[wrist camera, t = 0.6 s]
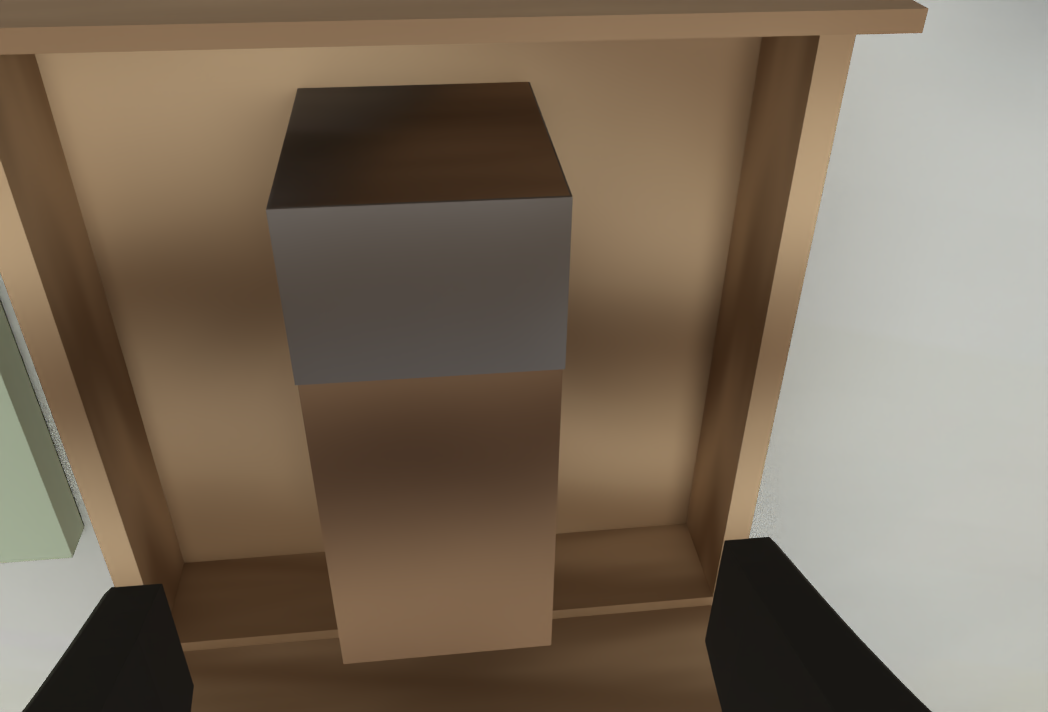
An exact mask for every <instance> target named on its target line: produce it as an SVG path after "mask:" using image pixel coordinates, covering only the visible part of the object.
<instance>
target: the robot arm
mask: <svg viewBox="0 0 1048 712" xmlns="http://www.w3.org/2000/svg"><path fill="white" fill-rule="evenodd" d="M705 643H706V648H707V652H708V656H709V661H710V665H711V669H712V673H713V678H714V682H715V686H716V690H717V694H718V698H719V702H720V705H721V709H722V712H931V711H930V710H929V709H928V708H927V707H926V706H925V705H924V704H923V703H922V702H921V701H920V700H919V699H918V698H917V697H916V696H915V695H914V694H913V693H912V692H911V691H910V690H909V689H908V688H907V687H906V686H905V685H904V684H903V683H902V682H901V681H900V680H899V679H898V678H897V677H896V676H895V675H894V674H893V673H892V672H891V671H890V670H889V669H888V668H887V666H886V665H885V664H884V663H883V662H882V661H881V660H880V659H879V658H878V657H877V656H876V655H875V654H874V653H873V652H872V651H871V650H870V649H869V648H868V647H867V646H866V644H865V643H864V642H863V641H862V640H861V639H860V638H859V637H858V636H857V635H856V634H855V633H854V632H853V630H852V629H851V628H850V627H849V626H848V625H847V624H846V623H845V622H844V621H843V620H842V618H841V617H840V616H839V615H838V614H837V613H836V612H835V611H834V609H833V608H832V607H831V606H830V605H829V604H828V603H827V602H826V601H825V599H824V598H823V597H822V596H821V595H820V594H819V593H818V591H817V590H816V589H815V588H814V587H813V586H812V585H811V583H810V582H809V581H808V580H807V579H806V578H805V577H804V575H803V574H802V573H801V572H800V571H799V570H798V568H797V567H796V566H795V565H794V564H793V563H792V561H791V560H790V559H789V558H788V557H787V556H786V554H785V553H784V552H783V551H782V550H781V549H780V548H779V546H778V545H777V544H776V543H775V542H774V541H773V540H772V539H771V538H770V537H762V538H749V539H736V540H725V541H724V546H723V551H722V556H721V561H720V566H719V571H718V576H717V581H716V586H715V592H714V597H713V602H712V607H711V612H710V617H709V622H708V627H707V632H706V637H705ZM193 689H194V684H193V681H192V678H191V675H190V672H189V668H188V665H187V662H186V659H185V655H184V652H183V649H182V646H181V643H180V639H179V636H178V633H177V630H176V626H175V623H174V620H173V617H172V614H171V610H170V607H169V604H168V601H167V597H166V594H165V591H164V588H163V584H150V585H137V586H124V587H112V588H111V589H109V590H108V591H107V592H106V593H105V594H104V596H103V597H102V599H101V600H100V602H99V603H98V605H97V606H96V607H95V609H94V610H93V612H92V613H91V615H90V616H89V618H88V619H87V621H86V622H85V624H84V625H83V627H82V628H81V630H80V631H79V633H78V634H77V636H76V637H75V638H74V640H73V641H72V643H71V644H70V646H69V647H68V649H67V650H66V651H65V653H64V654H63V656H62V657H61V659H60V660H59V661H58V663H57V664H56V666H55V667H54V669H53V670H52V671H51V673H50V674H49V676H48V677H47V678H46V680H45V681H44V683H43V684H42V685H41V687H40V688H39V690H38V691H37V692H36V694H35V695H34V697H33V698H32V699H31V701H30V702H29V703H28V705H27V706H26V707H25V709H24V710H23V711H22V712H191V706H192V698H193Z"/></svg>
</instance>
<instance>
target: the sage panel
mask: <svg viewBox="0 0 1048 712" xmlns="http://www.w3.org/2000/svg"><path fill="white" fill-rule="evenodd" d="M83 529H84V526H83V523H82V520H81V518H80V515H79V512H78V509H77V507H76V504H75V501H74V499H73V496H72V493H71V491H70V488H69V485H68V483H67V480H66V477H65V474H64V472H63V469H62V466H61V464H60V461H59V458H58V456H57V453H56V450H55V448H54V445H53V442H52V440H51V437H50V434H49V431H48V429H47V426H46V423H45V421H44V418H43V415H42V413H41V410H40V407H39V405H38V402H37V399H36V397H35V394H34V391H33V388H32V386H31V383H30V380H29V378H28V375H27V372H26V370H25V367H24V364H23V362H22V359H21V356H20V354H19V351H18V348H17V345H16V343H15V340H14V337H13V335H12V332H11V329H10V327H9V324H8V321H7V319H6V316H5V313H4V310H3V308H2V305H1V302H0V563H8V562H21V561H34V560H47V559H60V558H73V555H74V553H75V550H76V547H77V545H78V542H79V539H80V537H81V534H82V532H83Z"/></svg>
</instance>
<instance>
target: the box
mask: <svg viewBox="0 0 1048 712" xmlns="http://www.w3.org/2000/svg"><path fill="white" fill-rule="evenodd" d="M572 204H573V196H572V194H571V191H570V188H569V186H568V183H567V180H566V178H565V175H564V172H563V170H562V167H561V164H560V161H559V159H558V156H557V153H556V151H555V148H554V145H553V143H552V140H551V137H550V135H549V132H548V129H547V127H546V124H545V121H544V119H543V116H542V113H541V111H540V108H539V105H538V103H537V100H536V97H535V95H534V92H533V89H532V87H531V84H530V82H501V83H465V84H430V85H394V86H358V87H323V88H298V89H297V93H296V96H295V100H294V104H293V108H292V112H291V115H290V119H289V123H288V127H287V131H286V134H285V138H284V142H283V146H282V150H281V154H280V157H279V161H278V165H277V169H276V173H275V176H274V180H273V184H272V188H271V192H270V195H269V199H268V203H267V207H266V214H267V220H268V226H269V232H270V238H271V244H272V250H273V256H274V262H275V268H276V274H277V280H278V286H279V292H280V298H281V304H282V310H283V316H284V322H285V328H286V334H287V340H288V346H289V352H290V359H291V365H292V371H293V377H294V383H295V385H298V391H299V397H300V403H301V409H302V415H303V421H304V427H305V433H306V439H307V445H308V451H309V457H310V464H311V470H312V476H313V482H314V488H315V494H316V500H317V506H318V512H319V518H320V524H321V531H322V537H323V543H324V549H325V555H326V561H327V567H328V573H329V579H330V585H331V591H332V597H333V604H334V610H335V616H336V622H337V628H338V634H339V640H340V646H341V652H342V658H343V664H350V663H361V662H372V661H383V660H394V659H405V658H416V657H427V656H438V655H449V654H460V653H471V652H482V651H493V650H504V649H515V648H526V647H537V646H548V645H551V638H552V614H553V590H554V566H555V542H556V518H557V495H558V471H559V447H560V423H561V399H562V375H563V369H565V364H566V341H567V318H568V295H569V273H570V250H571V227H572Z"/></svg>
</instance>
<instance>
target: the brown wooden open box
mask: <svg viewBox="0 0 1048 712" xmlns="http://www.w3.org/2000/svg"><path fill="white" fill-rule="evenodd" d="M927 12H928V8H926V7H924V6H923V5H921V4H919V3H917V2H915V1H913V0H0V273H1V276H2V278H3V281H4V284H5V287H6V289H7V292H8V295H9V298H10V300H11V303H12V306H13V309H14V311H15V314H16V317H17V320H18V322H19V325H20V328H21V331H22V333H23V336H24V339H25V342H26V344H27V347H28V350H29V353H30V355H31V358H32V361H33V364H34V366H35V369H36V372H37V375H38V377H39V380H40V383H41V386H42V388H43V391H44V394H45V397H46V399H47V402H48V405H49V408H50V410H51V413H52V416H53V419H54V421H55V424H56V427H57V430H58V432H59V435H60V438H61V441H62V443H63V446H64V449H65V452H66V454H67V457H68V460H69V462H70V465H71V468H72V471H73V473H74V476H75V479H76V482H77V484H78V487H79V490H80V493H81V495H82V498H83V501H84V504H85V506H86V509H87V512H88V515H89V517H90V520H91V523H92V526H93V528H94V531H95V534H96V537H97V539H98V542H99V545H100V548H101V550H102V553H103V556H104V559H105V561H106V564H107V567H108V570H109V572H110V575H111V578H112V581H113V583H114V586H115V587H124V586H137V585H150V584H163V588H164V591H165V594H166V597H167V601H168V604H169V607H170V610H171V614H172V617H173V620H174V623H175V626H176V630H177V633H178V636H179V639H180V643H181V646H182V649H183V652H184V655H185V659H186V662H187V665H188V668H189V672H190V675H191V678H192V681H193V684H194V689H193V698H192V706H191V712H722V709H721V705H720V702H719V698H718V694H717V690H716V686H715V682H714V678H713V673H712V669H711V665H710V661H709V656H708V652H707V648H706V643H705V637H706V632H707V627H708V622H709V617H710V612H711V607H712V602H713V597H714V592H715V586H716V581H717V576H718V571H719V566H720V561H721V556H722V551H723V546H724V541H725V540H736V539H749V535H750V530H751V525H752V520H753V516H754V511H755V506H756V502H757V497H758V492H759V488H760V483H761V478H762V473H763V469H764V464H765V459H766V455H767V450H768V445H769V441H770V436H771V431H772V426H773V422H774V417H775V412H776V408H777V403H778V398H779V394H780V389H781V384H782V380H783V375H784V370H785V365H786V361H787V356H788V351H789V347H790V342H791V337H792V333H793V328H794V323H795V318H796V314H797V309H798V304H799V300H800V295H801V290H802V286H803V281H804V276H805V271H806V267H807V262H808V257H809V253H810V248H811V243H812V239H813V234H814V229H815V224H816V220H817V215H818V210H819V206H820V201H821V196H822V192H823V187H824V182H825V178H826V173H827V168H828V163H829V159H830V154H831V149H832V145H833V140H834V135H835V131H836V126H837V121H838V116H839V112H840V107H841V102H842V98H843V93H844V88H845V84H846V79H847V74H848V69H849V65H850V60H851V55H852V51H853V46H854V41H855V37H856V34H895V33H922V32H923V28H924V24H925V20H926V16H927ZM501 82H530V84H531V87H532V89H533V92H534V95H535V97H536V100H537V103H538V105H539V108H540V111H541V113H542V116H543V119H544V121H545V124H546V127H547V129H548V132H549V135H550V137H551V140H552V143H553V145H554V148H555V151H556V153H557V156H558V159H559V161H560V164H561V167H562V170H563V172H564V175H565V178H566V180H567V183H568V186H569V188H570V191H571V194H572V196H573V204H572V227H571V250H570V273H569V295H568V318H567V341H566V364H565V369H563V375H562V399H561V423H560V447H559V471H558V495H557V518H556V542H555V566H554V590H553V614H552V638H551V645H548V646H537V647H526V648H515V649H504V650H493V651H482V652H471V653H460V654H449V655H438V656H427V657H416V658H405V659H394V660H383V661H372V662H361V663H350V664H343V658H342V652H341V646H340V640H339V634H338V628H337V622H336V616H335V610H334V604H333V597H332V591H331V585H330V579H329V573H328V567H327V561H326V555H325V549H324V543H323V537H322V531H321V524H320V518H319V512H318V506H317V500H316V494H315V488H314V482H313V476H312V470H311V464H310V457H309V451H308V445H307V439H306V433H305V427H304V421H303V415H302V409H301V403H300V397H299V391H298V385H295V383H294V377H293V371H292V365H291V359H290V352H289V346H288V340H287V334H286V328H285V322H284V316H283V310H282V304H281V298H280V292H279V286H278V280H277V274H276V268H275V262H274V256H273V250H272V244H271V238H270V232H269V226H268V220H267V214H266V207H267V203H268V199H269V195H270V192H271V188H272V184H273V180H274V176H275V173H276V169H277V165H278V161H279V157H280V154H281V150H282V146H283V142H284V138H285V134H286V131H287V127H288V123H289V119H290V115H291V112H292V108H293V104H294V100H295V96H296V93H297V89H298V88H323V87H358V86H394V85H430V84H465V83H501Z"/></svg>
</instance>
